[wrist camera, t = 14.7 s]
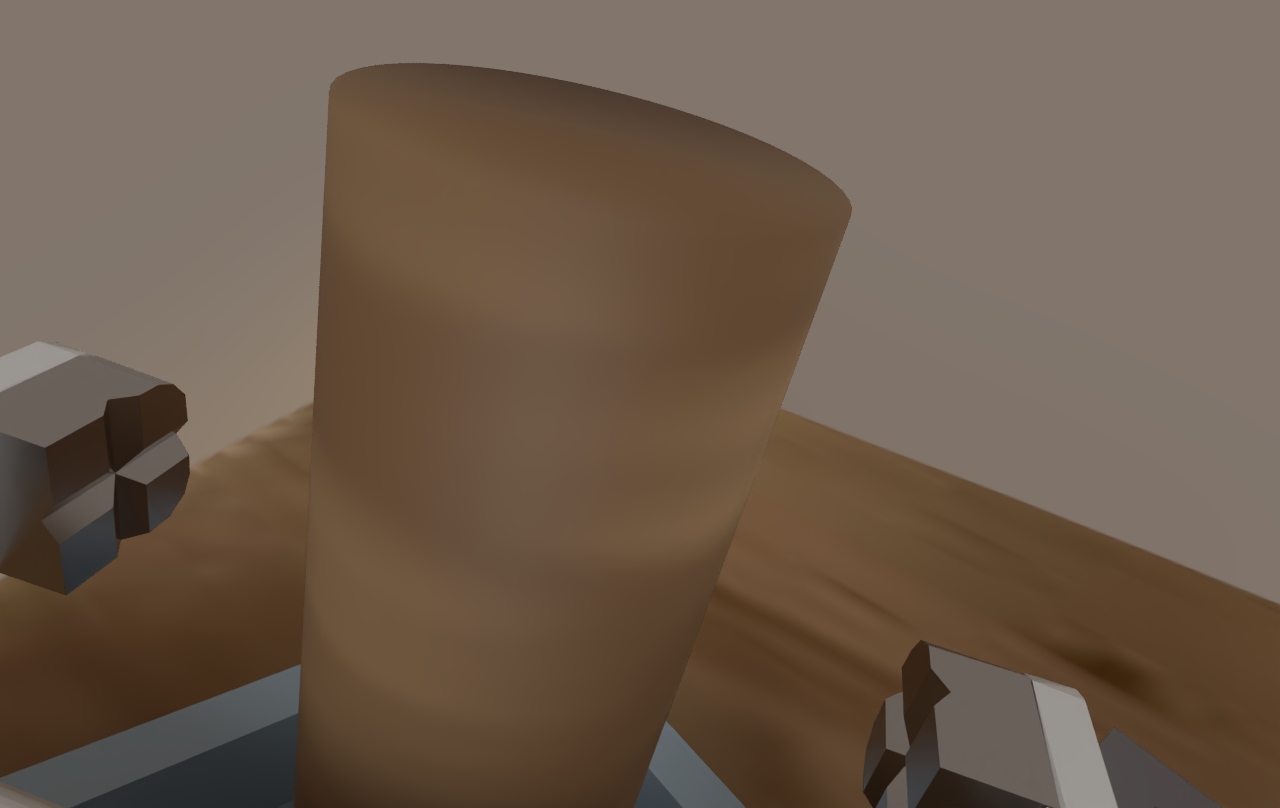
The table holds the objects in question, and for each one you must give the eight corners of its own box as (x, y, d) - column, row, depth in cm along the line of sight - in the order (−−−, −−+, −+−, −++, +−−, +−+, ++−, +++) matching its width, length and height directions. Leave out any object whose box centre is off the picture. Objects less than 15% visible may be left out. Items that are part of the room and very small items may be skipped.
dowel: (453, 898, 15) (630, 81, 8) (574, 1099, 13) (948, 225, 6) (240, 1035, 13) (240, 44, 6) (346, 1307, 10) (539, 257, 4)
